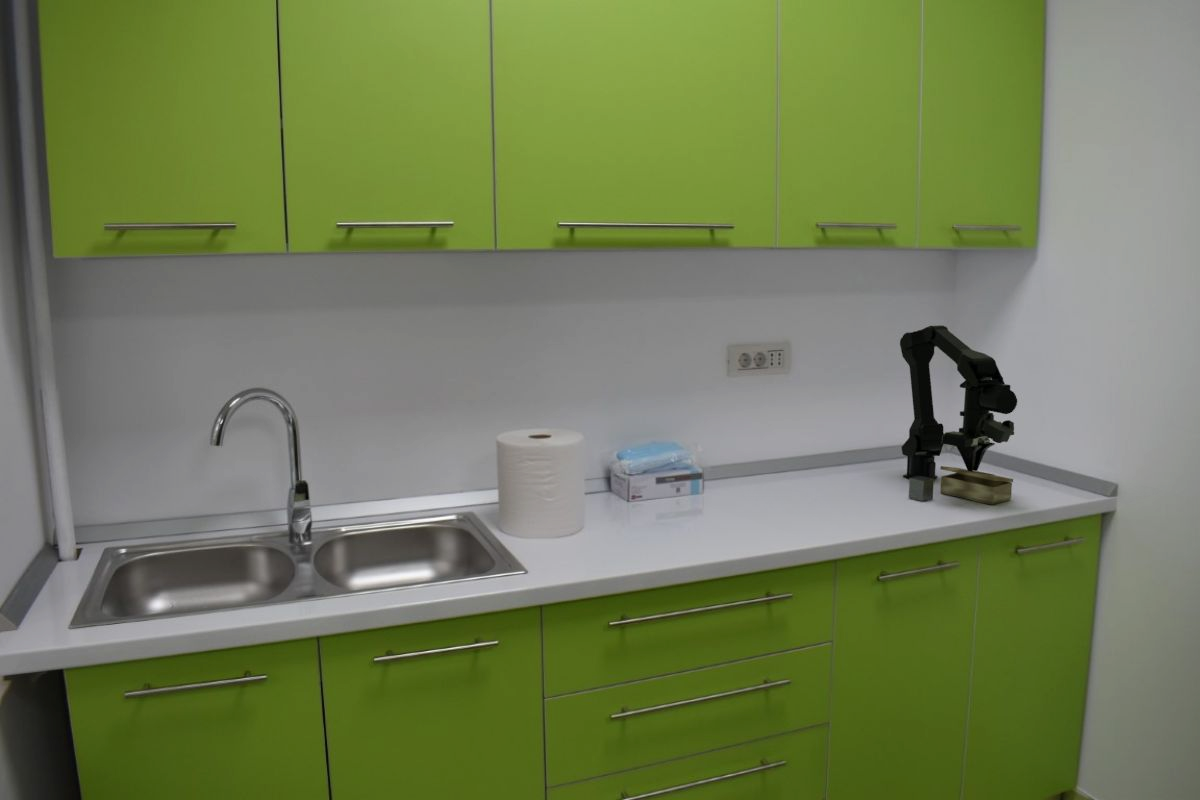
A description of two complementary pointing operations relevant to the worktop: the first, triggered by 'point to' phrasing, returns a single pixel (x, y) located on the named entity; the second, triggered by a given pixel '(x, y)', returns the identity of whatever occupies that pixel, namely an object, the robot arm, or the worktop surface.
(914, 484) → the block
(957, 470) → the lid
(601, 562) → the worktop surface
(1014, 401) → the robot arm
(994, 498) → the box
